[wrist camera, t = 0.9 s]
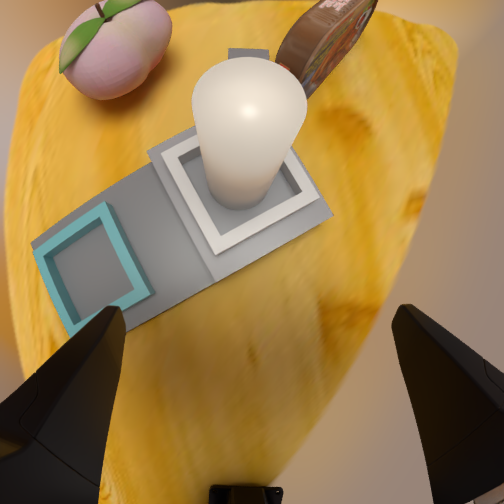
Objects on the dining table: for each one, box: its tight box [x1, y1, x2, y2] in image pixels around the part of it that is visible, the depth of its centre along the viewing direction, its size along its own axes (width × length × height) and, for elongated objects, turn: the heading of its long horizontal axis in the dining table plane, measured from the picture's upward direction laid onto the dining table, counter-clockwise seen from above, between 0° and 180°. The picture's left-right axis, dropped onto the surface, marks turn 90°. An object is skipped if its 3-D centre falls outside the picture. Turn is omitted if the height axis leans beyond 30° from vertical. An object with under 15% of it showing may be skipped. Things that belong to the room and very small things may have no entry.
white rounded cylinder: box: [192, 48, 307, 210], centre depth 15 cm, size 5×4×10 cm
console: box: [31, 125, 334, 338], centre depth 20 cm, size 21×10×4 cm, turn 120°
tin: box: [275, 0, 378, 99], centre depth 20 cm, size 15×3×8 cm, turn 145°
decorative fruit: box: [59, 0, 172, 100], centre depth 18 cm, size 9×8×10 cm
